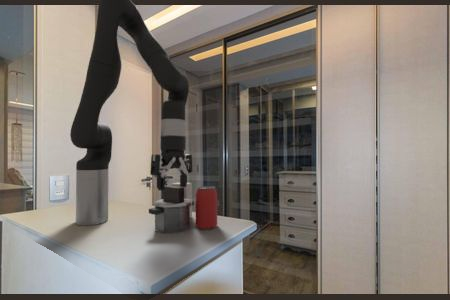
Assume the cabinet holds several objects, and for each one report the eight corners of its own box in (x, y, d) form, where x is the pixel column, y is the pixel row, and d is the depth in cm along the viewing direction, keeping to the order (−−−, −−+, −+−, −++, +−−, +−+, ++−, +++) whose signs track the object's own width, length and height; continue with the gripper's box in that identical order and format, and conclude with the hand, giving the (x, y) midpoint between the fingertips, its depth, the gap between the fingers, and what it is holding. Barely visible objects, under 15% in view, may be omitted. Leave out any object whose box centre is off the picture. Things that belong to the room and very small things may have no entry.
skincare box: (192, 216, 81) (192, 182, 81) (186, 219, 76) (186, 184, 77) (177, 215, 82) (177, 182, 83) (170, 218, 78) (170, 183, 79)
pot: (141, 230, 66) (141, 206, 66) (180, 218, 78) (180, 198, 78) (163, 238, 60) (163, 211, 60) (202, 224, 72) (202, 201, 72)
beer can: (214, 230, 65) (214, 189, 66) (192, 229, 67) (192, 188, 67) (219, 223, 72) (219, 186, 72) (199, 222, 73) (199, 185, 73)
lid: (146, 205, 68) (146, 187, 68) (175, 199, 77) (175, 183, 77) (171, 210, 61) (171, 191, 61) (199, 203, 70) (199, 186, 70)
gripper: (182, 137, 77) (181, 184, 77) (145, 134, 66) (144, 190, 65) (198, 136, 73) (197, 186, 72) (161, 132, 61) (161, 192, 61)
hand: (172, 188), depth 69 cm, fingers open, 8 cm apart
